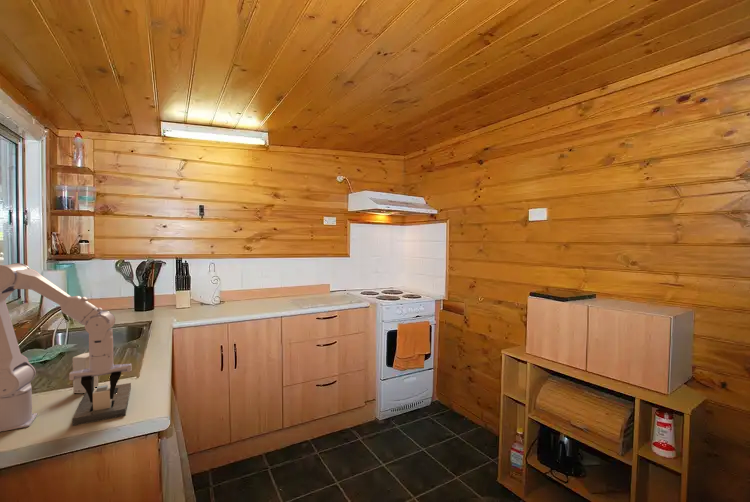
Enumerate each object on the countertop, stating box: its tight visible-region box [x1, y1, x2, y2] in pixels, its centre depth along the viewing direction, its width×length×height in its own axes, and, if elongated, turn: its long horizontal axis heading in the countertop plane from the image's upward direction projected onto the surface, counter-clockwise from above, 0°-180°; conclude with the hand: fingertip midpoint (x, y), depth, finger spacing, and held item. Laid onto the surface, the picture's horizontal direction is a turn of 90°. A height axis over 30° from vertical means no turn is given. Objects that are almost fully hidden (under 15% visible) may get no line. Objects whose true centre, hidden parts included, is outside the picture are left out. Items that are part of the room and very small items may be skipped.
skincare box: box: [72, 352, 99, 394], centre depth 124 cm, size 6×4×12 cm
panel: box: [72, 382, 132, 427], centre depth 113 cm, size 12×22×2 cm, turn 30°
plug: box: [93, 384, 112, 411], centre depth 109 cm, size 4×4×7 cm
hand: (102, 399), depth 108 cm, fingers closed on plug, 4 cm apart
